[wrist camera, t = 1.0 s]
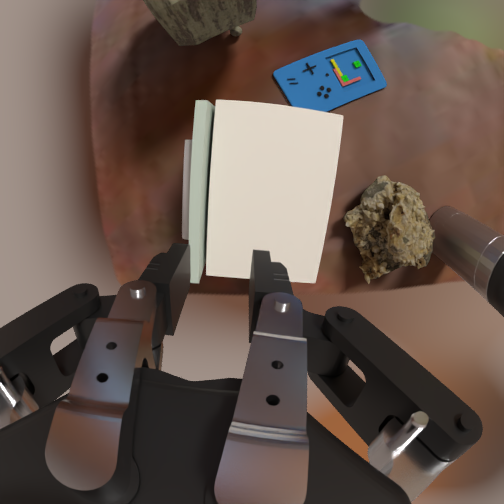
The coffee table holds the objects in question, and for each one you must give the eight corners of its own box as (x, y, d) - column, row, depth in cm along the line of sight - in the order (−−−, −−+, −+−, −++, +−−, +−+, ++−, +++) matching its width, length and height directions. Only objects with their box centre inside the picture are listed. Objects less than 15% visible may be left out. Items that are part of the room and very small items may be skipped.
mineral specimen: (320, 201, 39) (342, 222, 30) (390, 159, 36) (426, 169, 27) (359, 274, 44) (382, 308, 35) (419, 235, 41) (452, 260, 32)
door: (222, 112, 33) (207, 100, 20) (213, 235, 40) (198, 283, 27) (204, 112, 32) (180, 100, 20) (198, 234, 39) (176, 281, 27)
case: (314, 120, 34) (343, 115, 23) (298, 242, 41) (315, 283, 30) (226, 110, 33) (216, 99, 22) (217, 235, 41) (206, 275, 30)
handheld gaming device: (271, 71, 30) (362, 37, 28) (271, 73, 32) (359, 39, 29) (302, 123, 33) (389, 85, 31) (301, 123, 34) (386, 86, 32)
